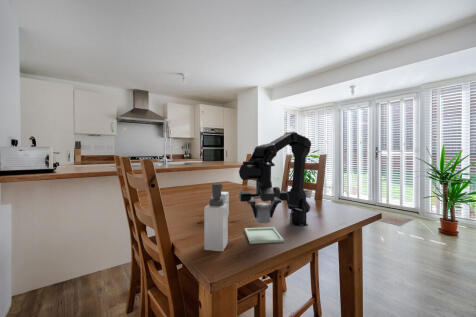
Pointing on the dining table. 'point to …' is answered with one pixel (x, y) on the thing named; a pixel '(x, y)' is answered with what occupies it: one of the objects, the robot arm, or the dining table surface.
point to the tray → (263, 235)
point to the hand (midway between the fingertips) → (263, 217)
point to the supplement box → (224, 198)
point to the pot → (262, 213)
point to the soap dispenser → (216, 221)
